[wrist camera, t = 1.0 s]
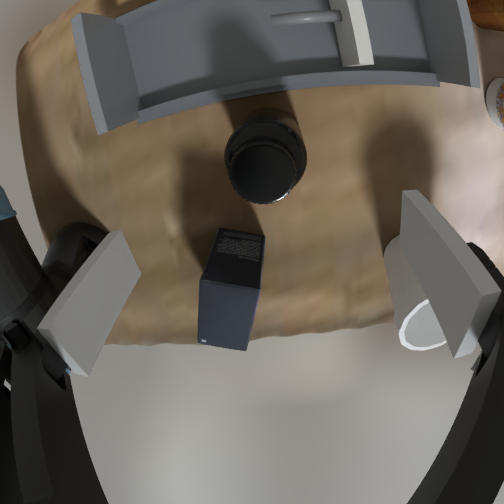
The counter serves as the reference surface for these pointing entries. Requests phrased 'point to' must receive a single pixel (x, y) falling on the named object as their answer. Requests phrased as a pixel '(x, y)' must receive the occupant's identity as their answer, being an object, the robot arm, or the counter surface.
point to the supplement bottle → (265, 156)
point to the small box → (230, 289)
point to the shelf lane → (258, 53)
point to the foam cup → (410, 303)
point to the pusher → (339, 28)
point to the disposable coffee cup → (487, 13)
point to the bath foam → (496, 101)
